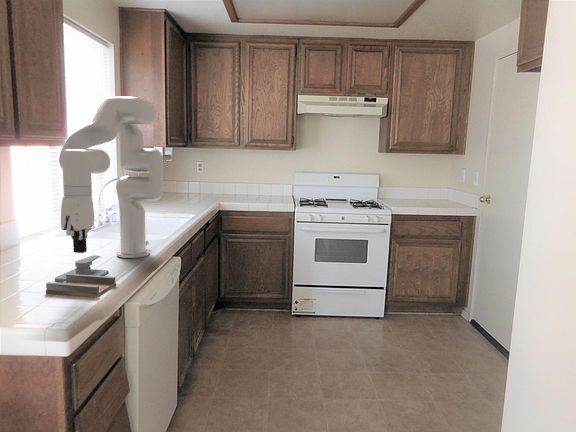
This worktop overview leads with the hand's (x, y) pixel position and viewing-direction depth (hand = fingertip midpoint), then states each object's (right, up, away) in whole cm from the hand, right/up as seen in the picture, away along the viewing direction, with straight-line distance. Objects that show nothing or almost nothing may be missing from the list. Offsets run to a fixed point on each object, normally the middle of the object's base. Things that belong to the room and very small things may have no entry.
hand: (80, 252), depth 130 cm
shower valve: (-5, -6, +23) cm, 24 cm away
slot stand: (0, -12, +2) cm, 12 cm away
